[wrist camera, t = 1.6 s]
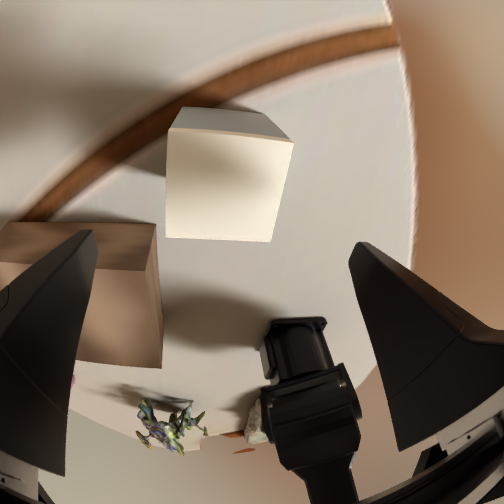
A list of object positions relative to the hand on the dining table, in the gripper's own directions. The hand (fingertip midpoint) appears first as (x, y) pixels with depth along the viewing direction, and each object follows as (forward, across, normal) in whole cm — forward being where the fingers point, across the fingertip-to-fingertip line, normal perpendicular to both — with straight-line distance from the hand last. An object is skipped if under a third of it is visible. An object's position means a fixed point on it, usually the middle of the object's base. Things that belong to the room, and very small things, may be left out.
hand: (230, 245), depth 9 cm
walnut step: (+10, +11, +12) cm, 19 cm away
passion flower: (+10, +5, +40) cm, 42 cm away
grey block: (+10, 0, 0) cm, 10 cm away
